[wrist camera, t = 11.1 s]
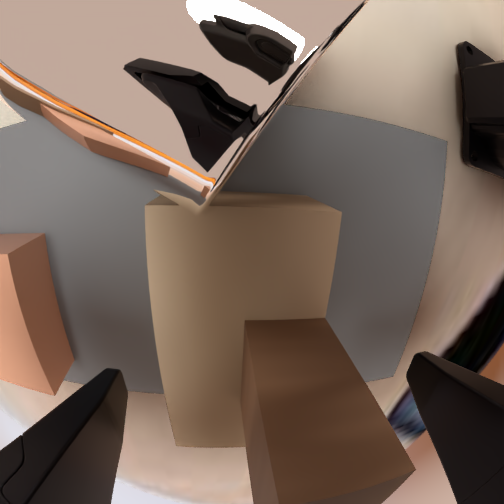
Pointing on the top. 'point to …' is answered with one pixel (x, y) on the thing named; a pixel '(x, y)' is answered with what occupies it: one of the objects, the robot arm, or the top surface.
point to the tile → (30, 316)
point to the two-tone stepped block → (265, 348)
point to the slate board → (242, 180)
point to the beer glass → (162, 79)
